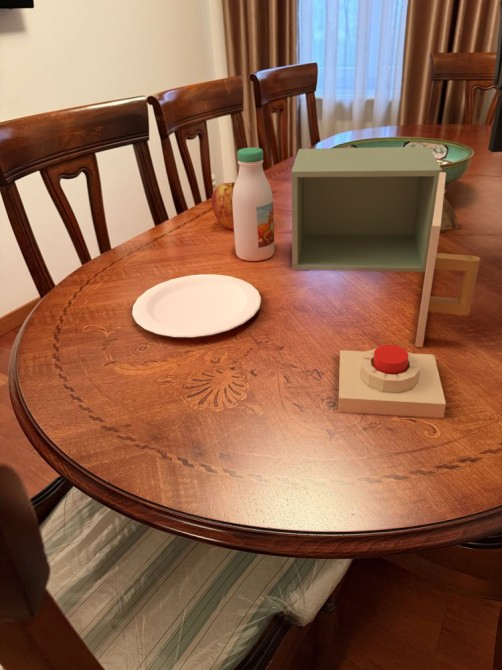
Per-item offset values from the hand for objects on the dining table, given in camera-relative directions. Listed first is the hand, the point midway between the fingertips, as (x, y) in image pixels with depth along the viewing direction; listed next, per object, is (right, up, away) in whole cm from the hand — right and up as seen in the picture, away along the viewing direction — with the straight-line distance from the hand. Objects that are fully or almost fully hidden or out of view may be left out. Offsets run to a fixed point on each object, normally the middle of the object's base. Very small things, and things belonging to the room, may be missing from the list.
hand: (500, 150), depth 66 cm
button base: (-15, -30, -1) cm, 34 cm away
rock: (+6, -2, +42) cm, 42 cm away
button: (-15, -27, -3) cm, 31 cm away
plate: (-40, -20, +19) cm, 49 cm away
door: (-2, -19, +15) cm, 25 cm away
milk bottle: (-31, -8, +37) cm, 49 cm away
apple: (-36, +1, +51) cm, 62 cm away
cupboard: (-11, -8, +34) cm, 37 cm away
